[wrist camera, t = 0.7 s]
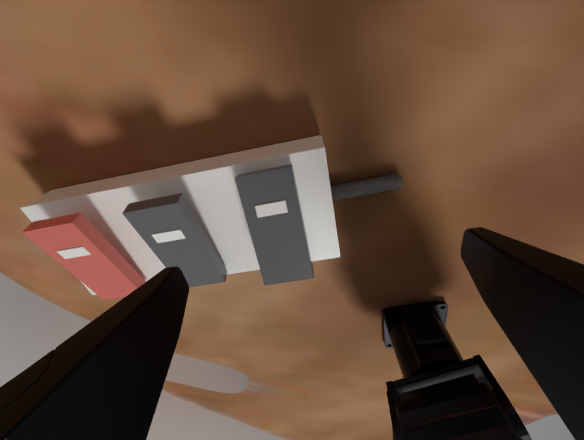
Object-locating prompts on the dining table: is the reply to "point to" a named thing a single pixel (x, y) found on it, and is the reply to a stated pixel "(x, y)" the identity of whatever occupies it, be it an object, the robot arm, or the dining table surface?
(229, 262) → the power strip
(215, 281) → the rocker middle
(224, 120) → the dining table surface
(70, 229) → the rocker red
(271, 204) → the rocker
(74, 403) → the robot arm
